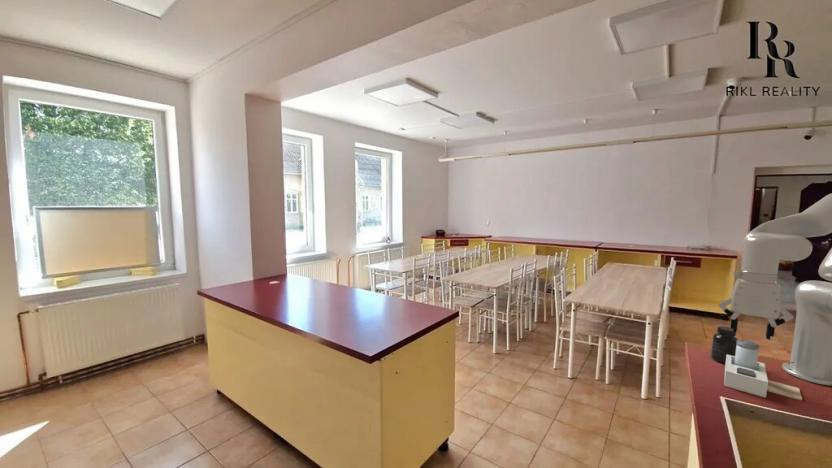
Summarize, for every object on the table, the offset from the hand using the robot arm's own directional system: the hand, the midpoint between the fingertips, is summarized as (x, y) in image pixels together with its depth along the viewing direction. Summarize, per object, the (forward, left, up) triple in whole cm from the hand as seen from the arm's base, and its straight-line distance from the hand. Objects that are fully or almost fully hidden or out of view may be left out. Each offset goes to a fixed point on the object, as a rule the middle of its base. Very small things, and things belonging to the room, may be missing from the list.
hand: (750, 334), depth 100 cm
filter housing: (-5, 0, -18) cm, 18 cm away
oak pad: (-6, +8, -18) cm, 20 cm away
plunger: (0, 0, -16) cm, 16 cm away
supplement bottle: (-18, -5, -18) cm, 26 cm away
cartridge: (-7, 0, -18) cm, 19 cm away
